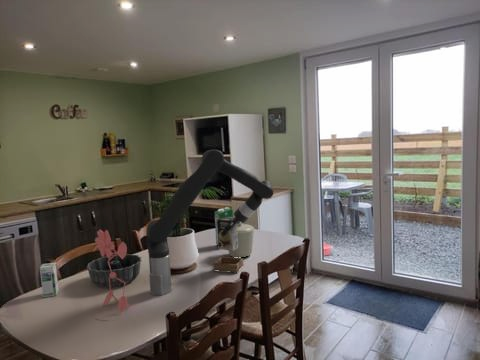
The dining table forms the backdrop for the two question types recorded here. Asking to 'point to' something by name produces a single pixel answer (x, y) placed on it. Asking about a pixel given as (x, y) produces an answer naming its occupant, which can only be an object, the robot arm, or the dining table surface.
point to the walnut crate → (228, 264)
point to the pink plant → (105, 248)
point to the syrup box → (49, 279)
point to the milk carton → (222, 213)
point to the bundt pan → (114, 270)
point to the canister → (243, 241)
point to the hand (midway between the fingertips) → (224, 232)
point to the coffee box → (227, 235)
